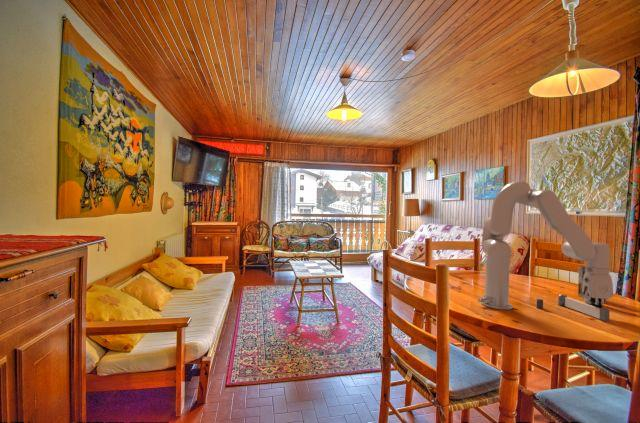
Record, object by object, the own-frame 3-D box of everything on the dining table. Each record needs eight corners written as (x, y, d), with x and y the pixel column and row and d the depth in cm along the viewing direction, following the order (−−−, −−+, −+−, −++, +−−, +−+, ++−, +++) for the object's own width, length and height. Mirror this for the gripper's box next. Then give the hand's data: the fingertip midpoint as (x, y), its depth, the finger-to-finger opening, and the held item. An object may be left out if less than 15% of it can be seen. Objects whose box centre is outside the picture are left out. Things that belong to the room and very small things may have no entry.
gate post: (563, 306, 134) (563, 296, 134) (556, 304, 137) (557, 294, 137) (568, 306, 135) (568, 295, 135) (561, 304, 138) (561, 294, 138)
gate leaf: (604, 320, 116) (604, 310, 116) (564, 305, 134) (564, 296, 134) (609, 320, 116) (609, 310, 116) (568, 305, 134) (568, 296, 134)
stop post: (540, 309, 130) (540, 300, 130) (535, 307, 133) (535, 299, 133) (544, 308, 131) (544, 300, 131) (539, 307, 133) (539, 298, 133)
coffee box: (606, 301, 144) (607, 269, 144) (593, 301, 144) (594, 269, 144) (589, 295, 153) (590, 266, 153) (577, 295, 153) (578, 266, 153)
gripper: (589, 273, 119) (589, 316, 119) (622, 272, 120) (621, 315, 120) (572, 269, 127) (572, 310, 127) (603, 269, 128) (603, 309, 128)
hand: (596, 312), depth 123 cm, fingers closed
